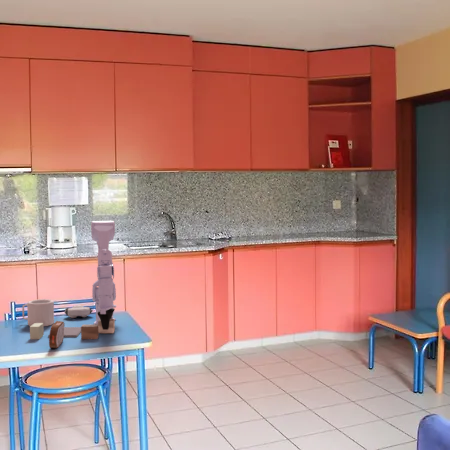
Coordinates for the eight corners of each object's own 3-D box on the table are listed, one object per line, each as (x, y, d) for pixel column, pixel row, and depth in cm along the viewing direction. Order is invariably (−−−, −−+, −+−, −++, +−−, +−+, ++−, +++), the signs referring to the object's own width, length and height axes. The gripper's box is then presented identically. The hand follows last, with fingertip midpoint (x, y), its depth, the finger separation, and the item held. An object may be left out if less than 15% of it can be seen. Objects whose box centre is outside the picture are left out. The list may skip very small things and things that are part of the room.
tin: (57, 340, 222) (57, 318, 221) (65, 340, 222) (65, 318, 221) (48, 351, 207) (47, 327, 206) (57, 351, 207) (56, 327, 206)
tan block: (99, 331, 234) (99, 318, 234) (114, 331, 235) (114, 318, 234) (98, 333, 231) (98, 320, 231) (113, 333, 231) (113, 320, 231)
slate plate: (56, 329, 239) (56, 327, 238) (83, 329, 239) (83, 327, 239) (48, 337, 226) (48, 335, 226) (76, 337, 226) (76, 335, 226)
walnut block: (83, 337, 226) (83, 324, 226) (98, 337, 226) (98, 324, 226) (81, 339, 223) (81, 326, 222) (96, 339, 223) (96, 326, 223)
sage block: (30, 339, 223) (29, 326, 223) (34, 335, 229) (34, 323, 229) (39, 339, 223) (39, 326, 223) (43, 335, 229) (43, 323, 229)
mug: (58, 321, 252) (57, 299, 252) (48, 327, 242) (47, 304, 241) (28, 321, 254) (27, 298, 253) (17, 327, 243) (16, 303, 242)
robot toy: (63, 315, 269) (65, 320, 255) (63, 305, 269) (64, 309, 255) (90, 313, 273) (93, 318, 259) (90, 304, 273) (93, 308, 259)
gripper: (113, 298, 225) (113, 332, 226) (118, 291, 239) (119, 323, 240) (94, 298, 224) (95, 332, 225) (101, 291, 239) (102, 323, 240)
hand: (106, 328), depth 233 cm, fingers closed on tan block, 3 cm apart
